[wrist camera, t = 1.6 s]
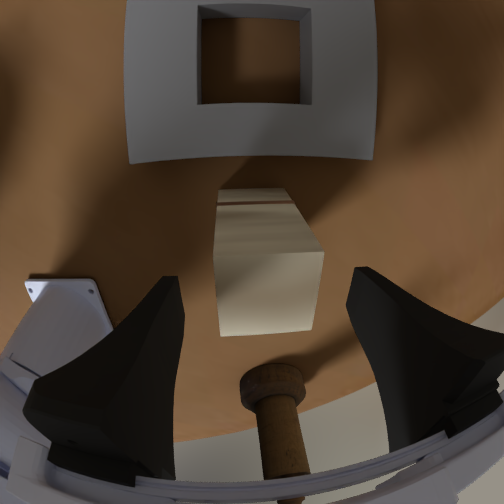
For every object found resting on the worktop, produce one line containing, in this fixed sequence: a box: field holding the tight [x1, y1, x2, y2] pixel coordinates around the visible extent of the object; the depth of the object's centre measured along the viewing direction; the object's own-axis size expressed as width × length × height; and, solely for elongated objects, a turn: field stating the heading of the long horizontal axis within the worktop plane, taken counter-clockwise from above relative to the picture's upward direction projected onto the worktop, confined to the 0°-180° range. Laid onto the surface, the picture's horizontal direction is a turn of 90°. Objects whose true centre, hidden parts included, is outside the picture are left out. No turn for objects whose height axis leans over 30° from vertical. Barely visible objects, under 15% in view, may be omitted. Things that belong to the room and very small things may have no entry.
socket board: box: [124, 0, 377, 164], centre depth 12 cm, size 11×13×2 cm
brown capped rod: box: [240, 364, 311, 504], centre depth 19 cm, size 7×6×18 cm
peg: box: [213, 188, 324, 336], centre depth 14 cm, size 4×4×8 cm
